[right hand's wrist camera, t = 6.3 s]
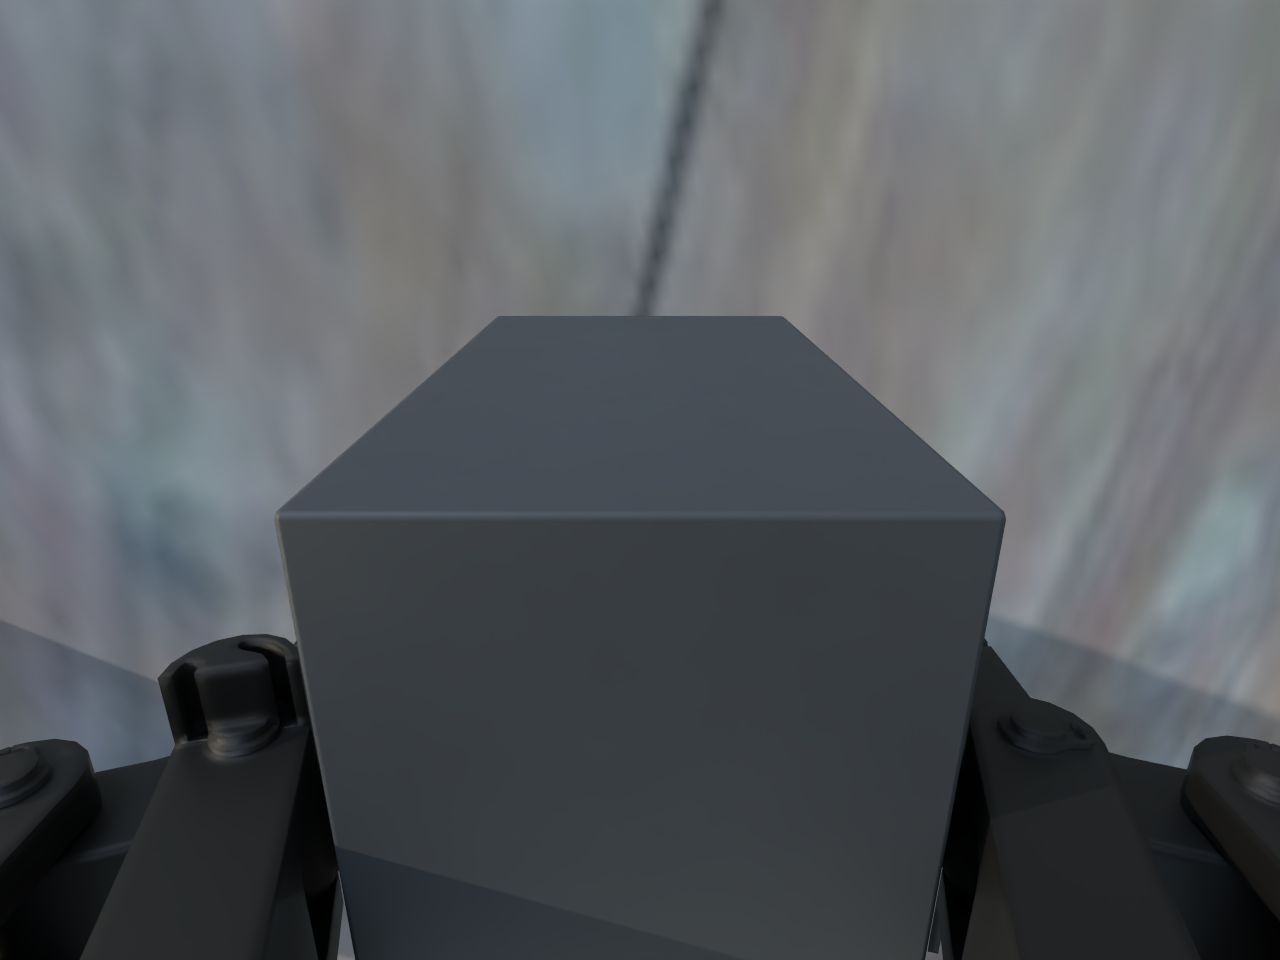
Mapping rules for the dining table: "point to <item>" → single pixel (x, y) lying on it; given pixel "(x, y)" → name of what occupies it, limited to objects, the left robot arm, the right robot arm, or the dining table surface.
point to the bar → (640, 650)
